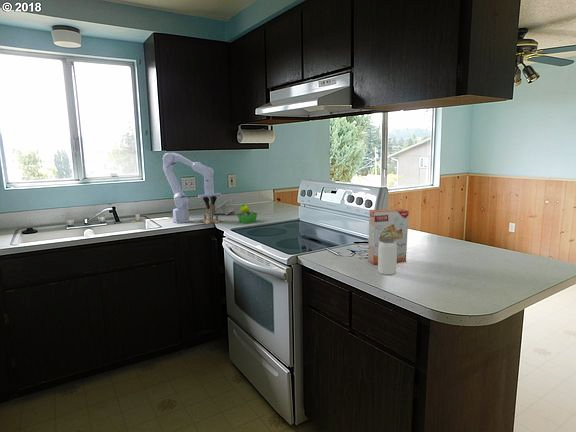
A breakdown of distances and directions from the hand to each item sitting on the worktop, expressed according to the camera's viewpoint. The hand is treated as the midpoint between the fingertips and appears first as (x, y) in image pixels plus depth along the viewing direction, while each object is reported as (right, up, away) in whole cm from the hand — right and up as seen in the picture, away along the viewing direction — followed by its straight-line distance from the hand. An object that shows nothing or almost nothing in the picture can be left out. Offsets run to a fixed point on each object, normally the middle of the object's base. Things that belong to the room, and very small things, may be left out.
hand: (210, 208), depth 240 cm
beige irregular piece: (0, -8, +2) cm, 8 cm away
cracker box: (+89, -23, -89) cm, 128 cm away
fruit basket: (+23, -9, -1) cm, 25 cm away
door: (0, -3, +1) cm, 3 cm away
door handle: (+2, -3, +31) cm, 31 cm away
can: (+85, -26, -101) cm, 135 cm away
